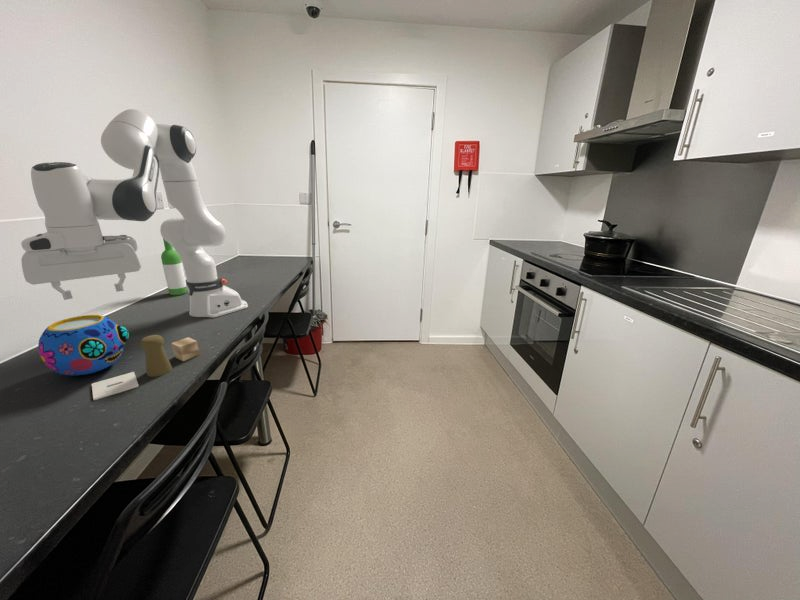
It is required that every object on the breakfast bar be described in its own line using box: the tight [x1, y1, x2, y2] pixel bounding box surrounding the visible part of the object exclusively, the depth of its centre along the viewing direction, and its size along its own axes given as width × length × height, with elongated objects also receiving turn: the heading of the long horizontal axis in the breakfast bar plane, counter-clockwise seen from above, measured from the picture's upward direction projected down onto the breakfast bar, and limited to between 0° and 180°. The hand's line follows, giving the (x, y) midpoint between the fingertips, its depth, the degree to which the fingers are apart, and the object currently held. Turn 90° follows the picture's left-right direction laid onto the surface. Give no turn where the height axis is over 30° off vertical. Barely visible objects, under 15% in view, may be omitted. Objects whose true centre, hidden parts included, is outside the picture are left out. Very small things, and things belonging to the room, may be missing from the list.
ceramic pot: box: [37, 314, 130, 376], centre depth 92 cm, size 18×18×15 cm
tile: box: [91, 371, 140, 401], centre depth 87 cm, size 9×9×1 cm
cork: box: [140, 334, 173, 378], centre depth 93 cm, size 6×6×11 cm
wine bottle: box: [160, 238, 188, 297], centre depth 156 cm, size 8×8×30 cm
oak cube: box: [171, 336, 201, 362], centre depth 102 cm, size 5×5×5 cm
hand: (95, 294), depth 80 cm, fingers open, 8 cm apart
